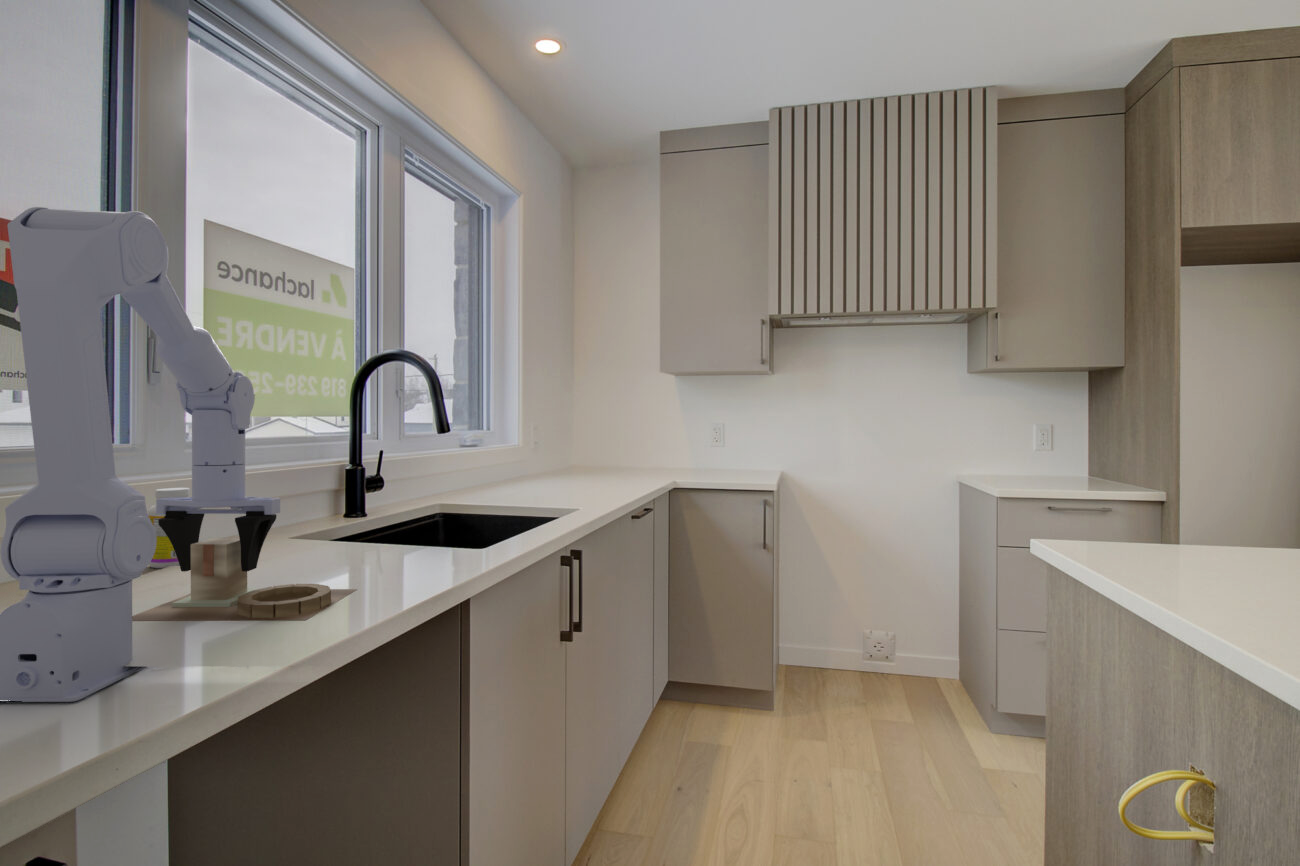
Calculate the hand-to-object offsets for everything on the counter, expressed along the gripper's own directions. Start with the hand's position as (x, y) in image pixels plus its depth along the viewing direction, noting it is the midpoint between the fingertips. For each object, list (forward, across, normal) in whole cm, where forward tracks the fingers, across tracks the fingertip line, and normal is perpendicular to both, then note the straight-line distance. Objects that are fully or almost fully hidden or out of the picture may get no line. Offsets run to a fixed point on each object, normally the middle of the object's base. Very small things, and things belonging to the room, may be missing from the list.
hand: (219, 569), depth 83 cm
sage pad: (+4, 0, 0) cm, 4 cm away
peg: (+3, 0, 0) cm, 3 cm away
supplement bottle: (+5, +24, -26) cm, 36 cm away
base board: (+5, -5, +2) cm, 7 cm away
